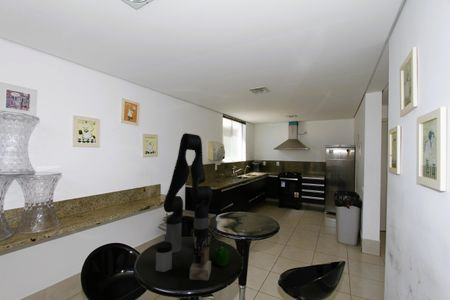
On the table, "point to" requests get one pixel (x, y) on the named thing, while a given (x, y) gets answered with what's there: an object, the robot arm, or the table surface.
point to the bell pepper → (222, 256)
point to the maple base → (200, 271)
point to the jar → (163, 256)
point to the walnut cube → (202, 256)
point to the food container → (208, 239)
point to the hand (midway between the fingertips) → (201, 259)
